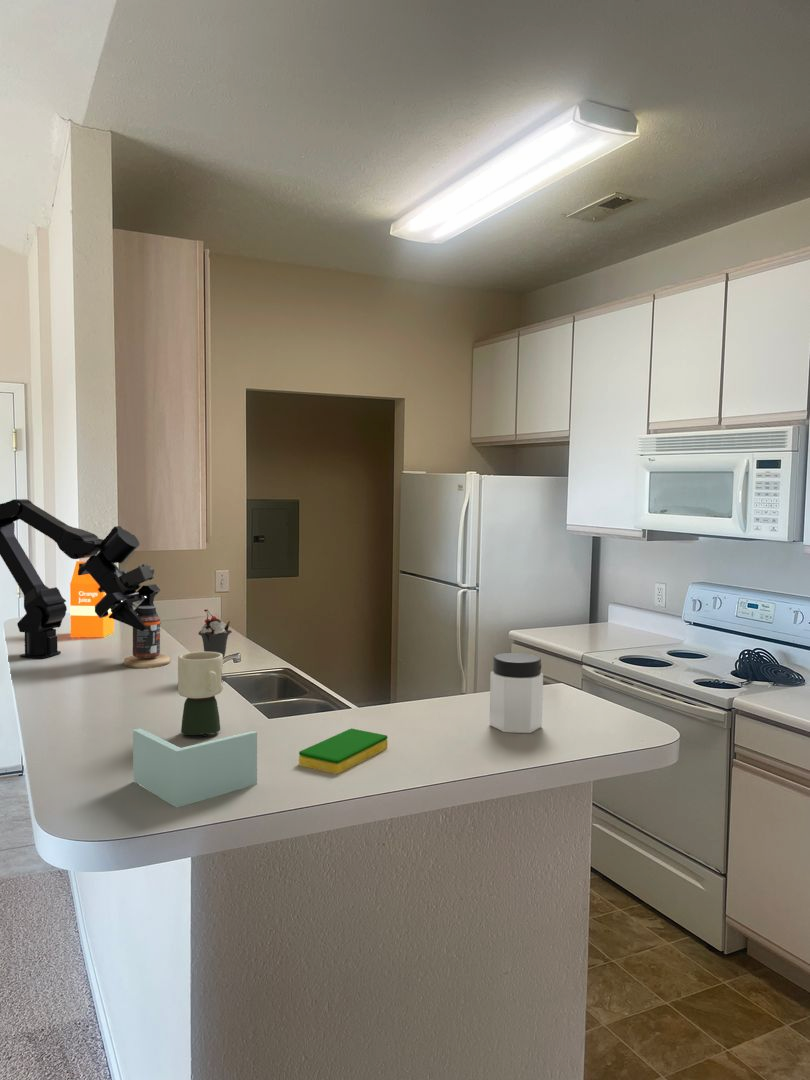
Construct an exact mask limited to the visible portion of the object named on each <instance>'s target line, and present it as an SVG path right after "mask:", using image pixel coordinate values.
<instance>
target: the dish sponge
mask: <svg viewBox="0 0 810 1080" xmlns="http://www.w3.org/2000/svg"><path fill="white" fill-rule="evenodd" d="M386 749H388V735H387V734H381V733H377V732H372V731H366V730H361V729H355V728H349V729H347V730H345V731H342V732H340V733H337V734H335V735H333V736H331V737H329V738H326V739H324V740H321V741H319V742H318V743H315V744H313V745H311V746H308V747H306V748H305V749H301V750H300V751H298V754H299V756H298V765H299V766H300V767H301V766H302V767H305V768H311V769H315V770H319V771H323V772H326V773H329V774H330V773H331V774H335V775H336V774H341V773H342V772H344V771H346V770H349V769H350V768H352V767H354V766H356V765H358V764H360V763H361V762H364V761H366V760H368V759H369V758H371V757H373V756H375V755H377V754H379V753H381V752H382V751H385V750H386Z"/></svg>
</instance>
